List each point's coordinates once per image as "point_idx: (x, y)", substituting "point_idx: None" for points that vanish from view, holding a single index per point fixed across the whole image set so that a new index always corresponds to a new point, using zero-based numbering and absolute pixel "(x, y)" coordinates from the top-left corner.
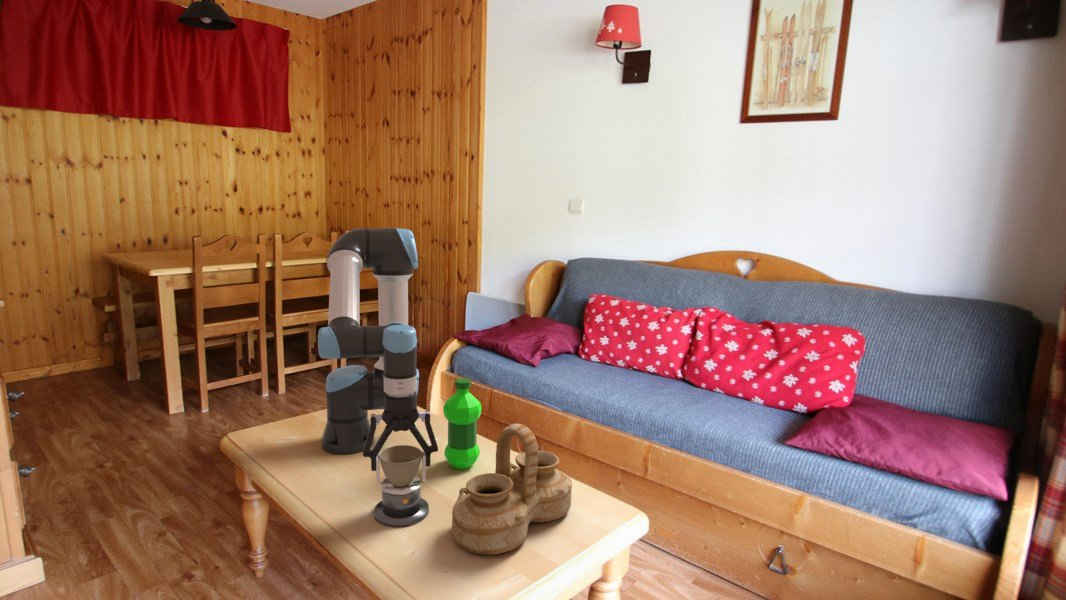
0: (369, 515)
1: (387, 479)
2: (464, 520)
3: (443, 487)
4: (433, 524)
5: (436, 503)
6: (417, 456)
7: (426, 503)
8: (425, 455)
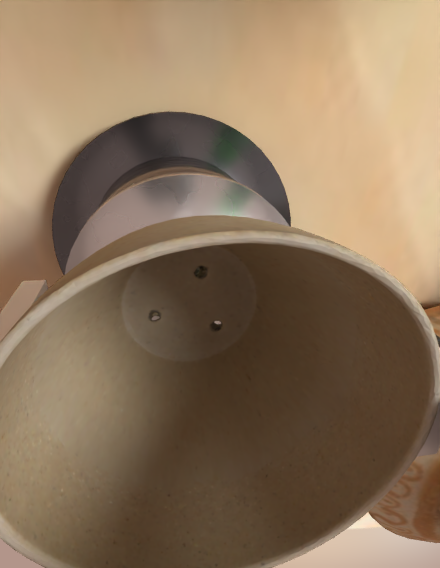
0: (39, 241)
1: (98, 241)
2: (383, 522)
3: (390, 28)
4: None
5: (323, 186)
6: (368, 314)
7: (284, 216)
8: (437, 449)
